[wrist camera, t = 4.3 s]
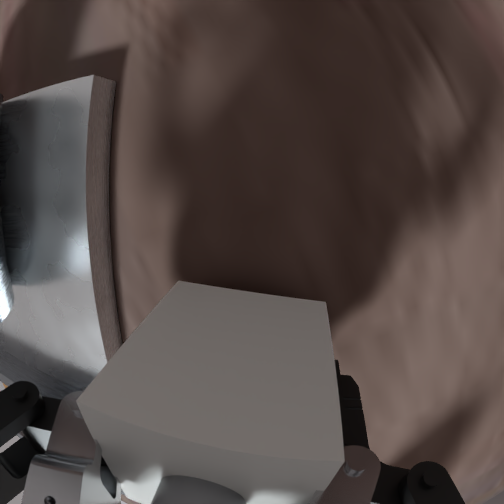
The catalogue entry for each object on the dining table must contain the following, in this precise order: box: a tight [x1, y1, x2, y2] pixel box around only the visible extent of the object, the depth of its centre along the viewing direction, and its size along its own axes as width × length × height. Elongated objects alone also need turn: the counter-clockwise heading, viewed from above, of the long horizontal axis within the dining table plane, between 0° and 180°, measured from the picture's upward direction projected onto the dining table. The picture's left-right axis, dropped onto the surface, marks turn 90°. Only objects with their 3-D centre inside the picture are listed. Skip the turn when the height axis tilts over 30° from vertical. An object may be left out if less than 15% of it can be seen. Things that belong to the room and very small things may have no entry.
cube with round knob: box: [76, 280, 345, 504], centre depth 7 cm, size 5×5×8 cm
